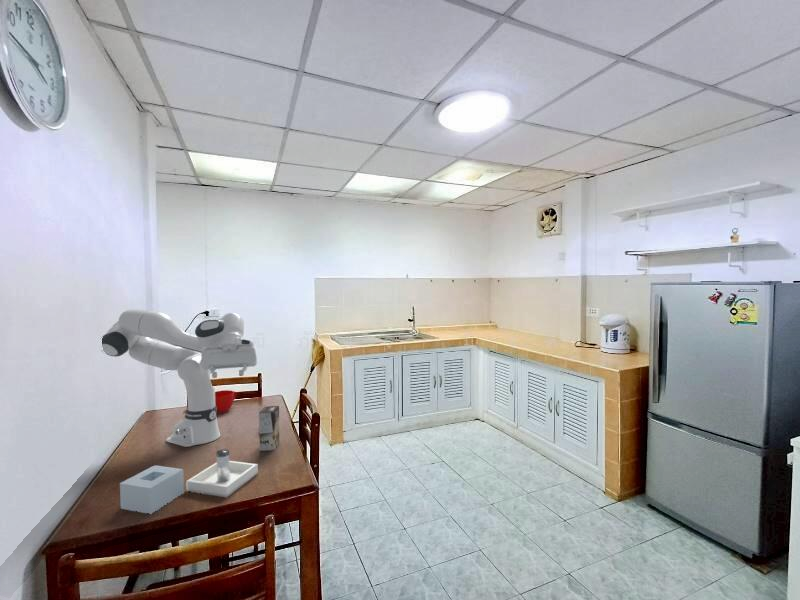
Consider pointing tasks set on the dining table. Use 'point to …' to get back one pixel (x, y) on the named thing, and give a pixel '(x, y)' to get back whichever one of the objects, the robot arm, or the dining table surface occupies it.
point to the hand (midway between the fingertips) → (227, 376)
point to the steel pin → (223, 466)
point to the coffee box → (269, 428)
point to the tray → (209, 485)
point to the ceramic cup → (224, 400)
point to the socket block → (151, 489)
